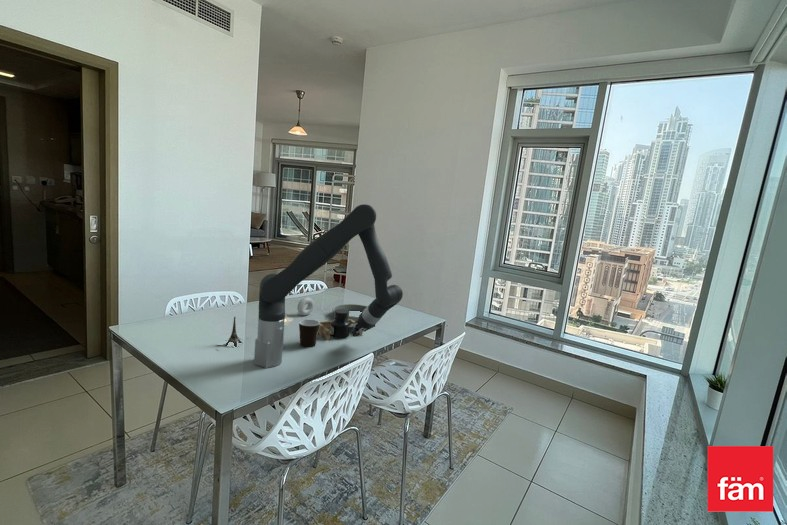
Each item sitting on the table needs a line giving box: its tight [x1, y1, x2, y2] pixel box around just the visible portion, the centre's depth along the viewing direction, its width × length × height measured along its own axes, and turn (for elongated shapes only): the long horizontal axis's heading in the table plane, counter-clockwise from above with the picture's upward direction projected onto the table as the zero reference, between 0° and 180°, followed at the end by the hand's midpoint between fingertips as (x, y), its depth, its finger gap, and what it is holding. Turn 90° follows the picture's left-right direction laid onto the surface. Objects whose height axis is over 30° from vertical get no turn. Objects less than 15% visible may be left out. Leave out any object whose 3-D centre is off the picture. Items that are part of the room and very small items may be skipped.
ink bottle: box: [330, 309, 351, 340], centre depth 174 cm, size 10×9×12 cm
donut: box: [296, 296, 315, 317], centre depth 199 cm, size 10×4×10 cm, turn 139°
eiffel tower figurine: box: [224, 316, 243, 348], centre depth 152 cm, size 15×10×13 cm
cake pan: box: [332, 303, 368, 322], centre depth 205 cm, size 25×25×4 cm
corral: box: [318, 319, 364, 341], centre depth 178 cm, size 12×18×4 cm, turn 125°
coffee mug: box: [298, 318, 321, 349], centre depth 161 cm, size 12×9×10 cm
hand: (353, 334), depth 166 cm, fingers closed
